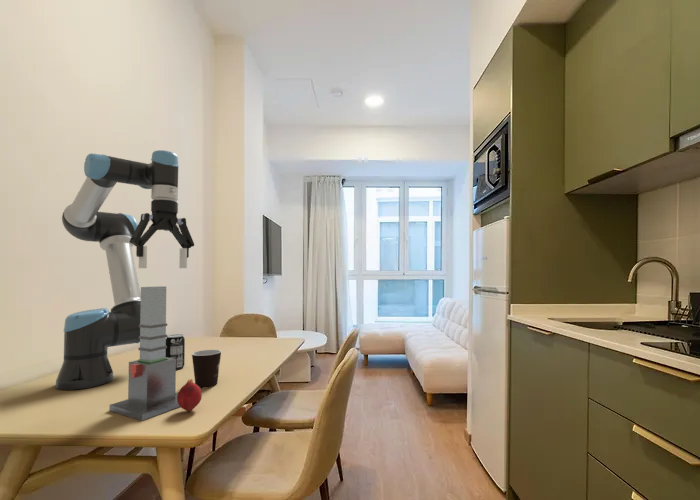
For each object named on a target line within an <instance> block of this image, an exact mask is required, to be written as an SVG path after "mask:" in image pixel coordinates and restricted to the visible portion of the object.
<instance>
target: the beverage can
mask: <svg viewBox="0 0 700 500" xmlns="http://www.w3.org/2000/svg"><path fill="white" fill-rule="evenodd" d="M185 339H186V338H185V337H184V334H182V333H181V334H179V333H178V334H169V335H168V334H167V337H166V346H167V348H166V357H168V358H174V359H176V371H177V370H182V369H183V368H184V366H185V359H186V358H185V348H186V347H185V345H186V343H185V342H186V341H185Z"/></svg>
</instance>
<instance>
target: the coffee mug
mask: <svg viewBox="0 0 700 500" xmlns="http://www.w3.org/2000/svg"><path fill="white" fill-rule="evenodd" d="M221 357H222V350H221V349H204V350H197V351H194V352H191V358H192V368H193V374H194V383H195V384H196V385H198V386H199V387H200V389H204V388H203V387H208V388H212V387H211V386H213V387H215V386H217V385H218V383H219V381H218V380H219V373H220V365H221ZM216 384H217V385H216ZM214 385H215V386H214Z"/></svg>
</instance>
